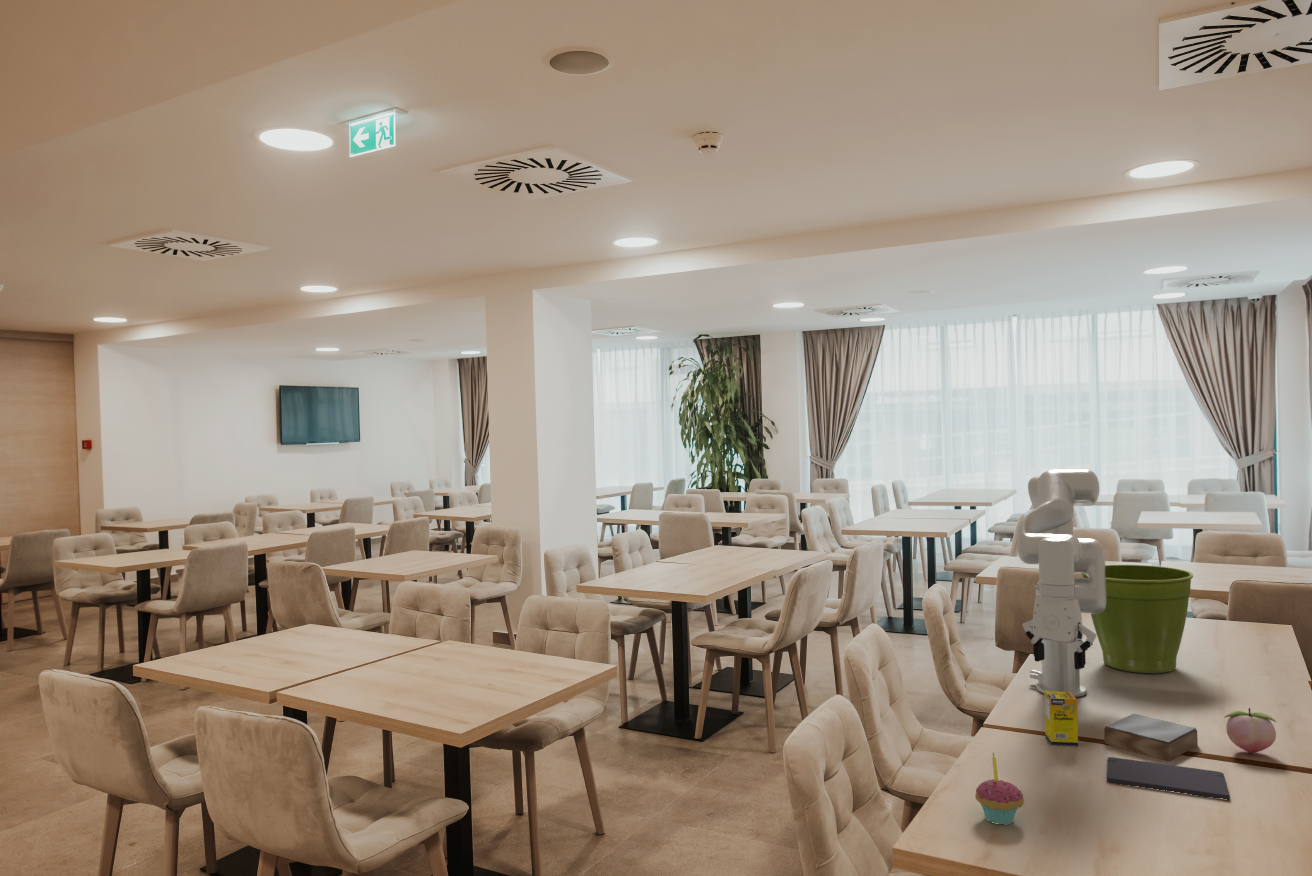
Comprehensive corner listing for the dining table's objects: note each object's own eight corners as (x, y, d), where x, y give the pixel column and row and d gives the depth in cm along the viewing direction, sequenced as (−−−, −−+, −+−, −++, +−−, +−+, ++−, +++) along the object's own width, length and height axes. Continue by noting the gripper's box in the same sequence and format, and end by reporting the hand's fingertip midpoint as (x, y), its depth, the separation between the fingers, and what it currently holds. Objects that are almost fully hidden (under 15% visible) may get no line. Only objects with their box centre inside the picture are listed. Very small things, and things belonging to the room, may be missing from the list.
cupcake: (968, 811, 166) (966, 749, 166) (1010, 808, 166) (1008, 746, 166) (989, 831, 157) (987, 766, 157) (1033, 828, 158) (1031, 763, 158)
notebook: (1106, 785, 177) (1230, 803, 167) (1106, 777, 177) (1230, 795, 167) (1107, 763, 188) (1223, 779, 178) (1107, 756, 188) (1223, 772, 178)
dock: (1104, 743, 198) (1104, 726, 198) (1134, 729, 206) (1133, 713, 206) (1169, 760, 187) (1168, 742, 187) (1197, 745, 195) (1197, 728, 195)
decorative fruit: (1268, 747, 192) (1267, 703, 192) (1281, 761, 185) (1280, 715, 185) (1220, 744, 196) (1218, 700, 195) (1231, 757, 188) (1229, 711, 188)
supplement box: (1078, 746, 197) (1077, 698, 197) (1051, 745, 198) (1049, 698, 198) (1071, 737, 203) (1070, 691, 203) (1044, 736, 204) (1043, 690, 204)
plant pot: (1196, 660, 264) (1193, 567, 264) (1195, 685, 239) (1192, 582, 239) (1088, 649, 280) (1086, 562, 280) (1077, 672, 255) (1075, 576, 255)
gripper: (1013, 588, 205) (1015, 660, 205) (1085, 597, 191) (1087, 674, 191) (1031, 585, 209) (1033, 655, 209) (1102, 593, 195) (1104, 668, 195)
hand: (1059, 664), depth 200 cm, fingers open, 9 cm apart
